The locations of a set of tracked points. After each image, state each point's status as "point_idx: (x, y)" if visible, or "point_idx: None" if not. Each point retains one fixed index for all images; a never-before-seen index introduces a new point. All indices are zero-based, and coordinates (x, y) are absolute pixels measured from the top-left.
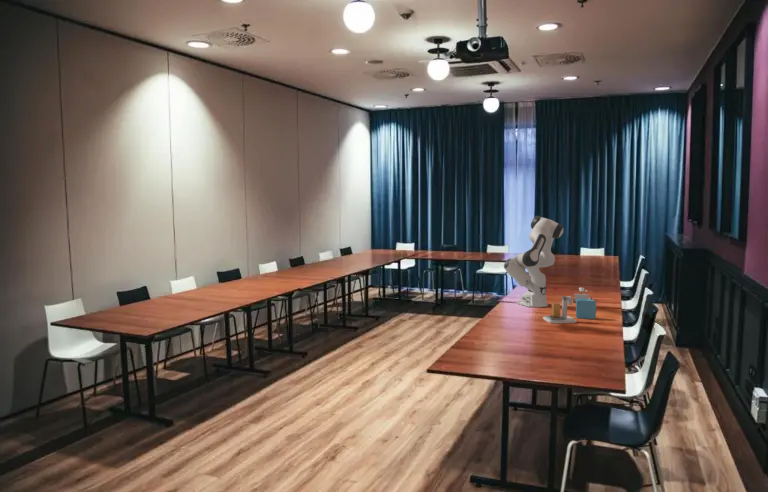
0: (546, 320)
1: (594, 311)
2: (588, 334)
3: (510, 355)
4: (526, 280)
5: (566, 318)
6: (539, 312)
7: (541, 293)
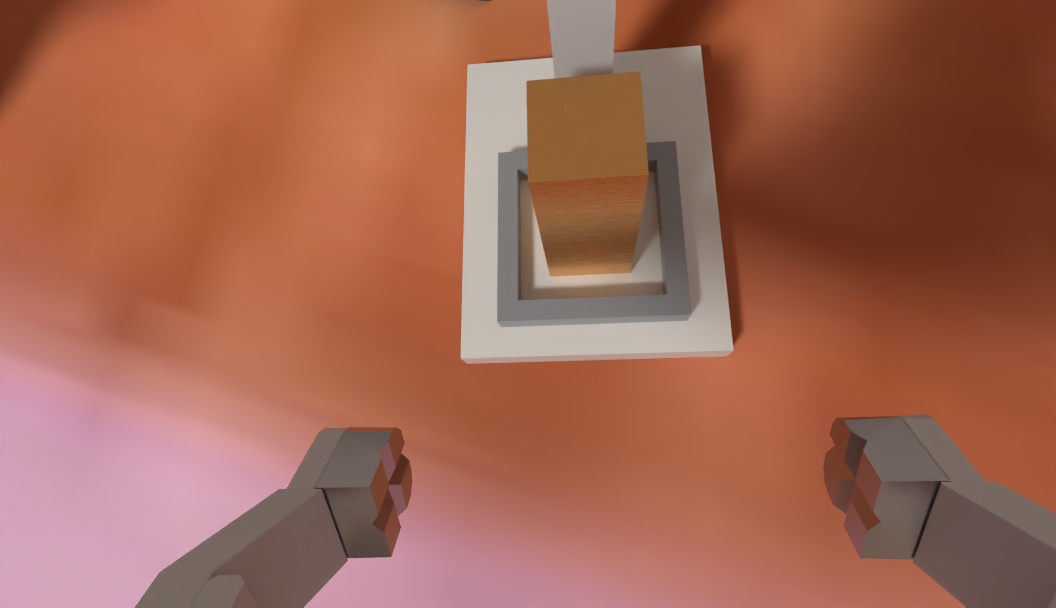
0: (598, 358)
1: None
2: None
3: None
4: None
5: None
6: (136, 300)
7: (970, 468)
